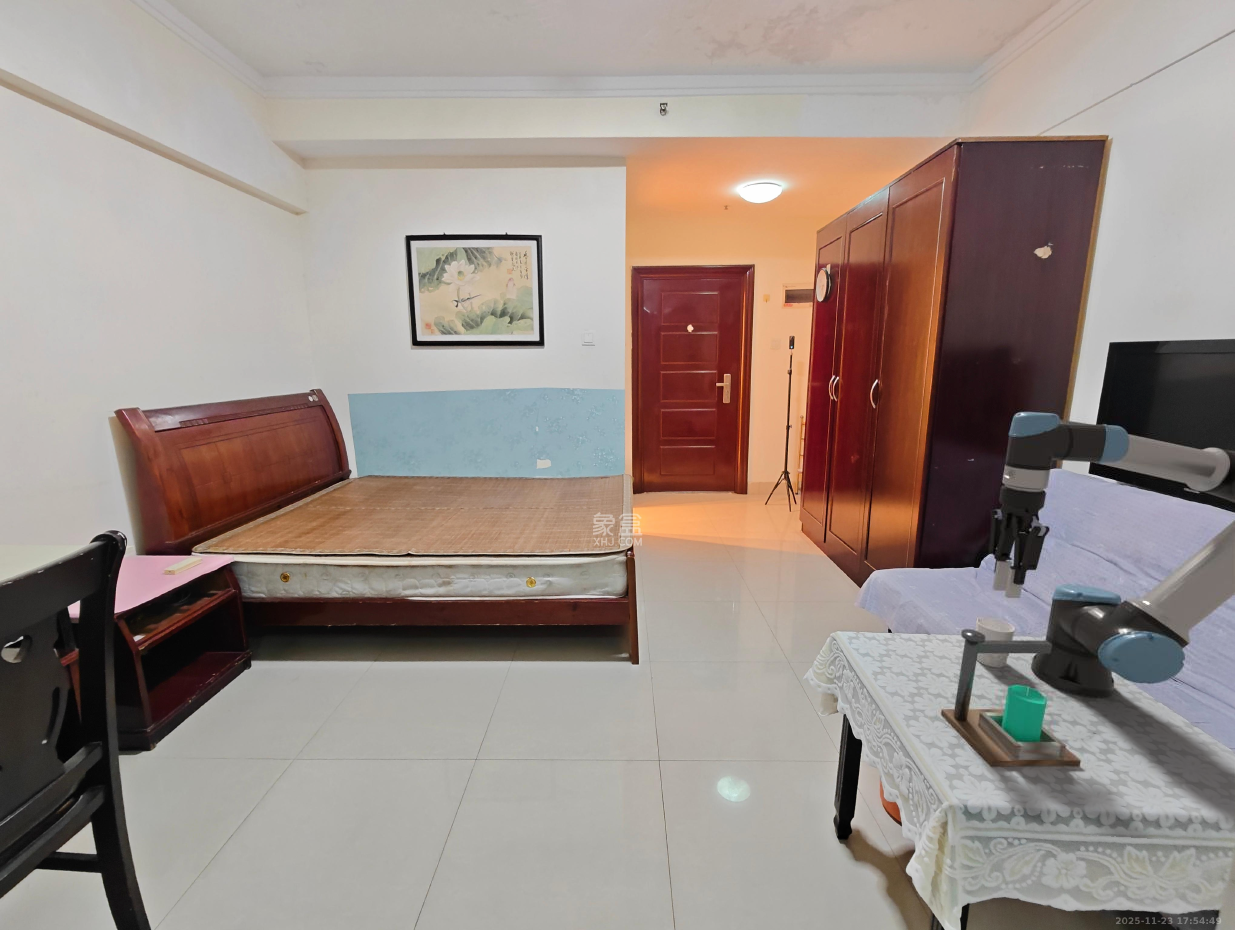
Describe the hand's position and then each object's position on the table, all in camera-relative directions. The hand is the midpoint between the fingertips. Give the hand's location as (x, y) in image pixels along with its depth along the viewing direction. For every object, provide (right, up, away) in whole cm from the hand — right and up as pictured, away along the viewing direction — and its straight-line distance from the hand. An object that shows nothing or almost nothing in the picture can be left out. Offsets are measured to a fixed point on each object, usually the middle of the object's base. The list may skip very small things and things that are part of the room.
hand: (1006, 593), depth 114 cm
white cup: (+11, -22, +21) cm, 33 cm away
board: (-6, -27, -8) cm, 29 cm away
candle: (-5, -27, -10) cm, 29 cm away
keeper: (-5, -25, -3) cm, 26 cm away
